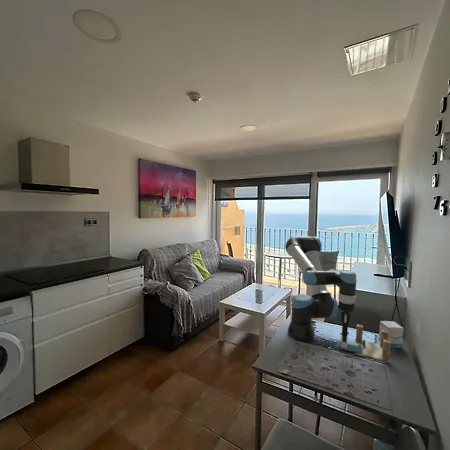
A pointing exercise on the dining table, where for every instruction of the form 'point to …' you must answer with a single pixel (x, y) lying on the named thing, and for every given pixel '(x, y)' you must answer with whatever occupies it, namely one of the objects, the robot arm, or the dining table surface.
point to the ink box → (392, 333)
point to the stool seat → (374, 346)
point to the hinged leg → (353, 346)
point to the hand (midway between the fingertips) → (343, 346)
